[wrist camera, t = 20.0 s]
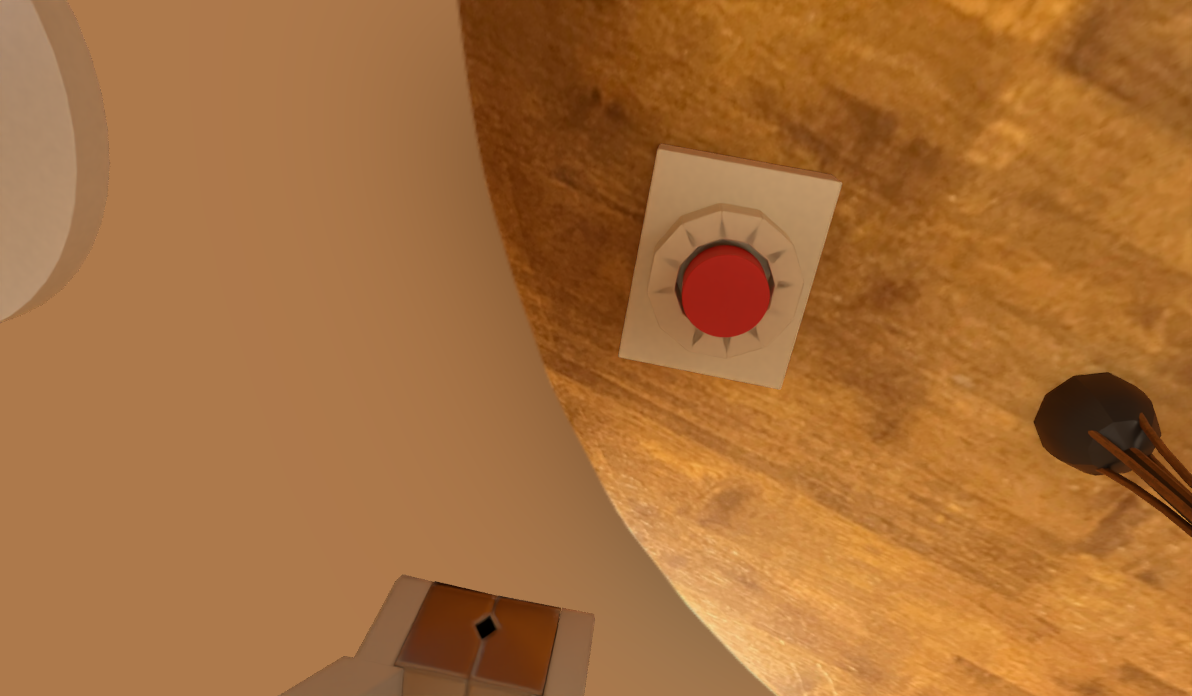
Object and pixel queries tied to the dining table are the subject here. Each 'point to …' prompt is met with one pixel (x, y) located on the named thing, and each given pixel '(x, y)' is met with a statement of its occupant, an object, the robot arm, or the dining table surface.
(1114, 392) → the wooden tabletop sculpture
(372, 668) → the robot arm
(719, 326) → the button
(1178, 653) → the dining table surface
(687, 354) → the button box
